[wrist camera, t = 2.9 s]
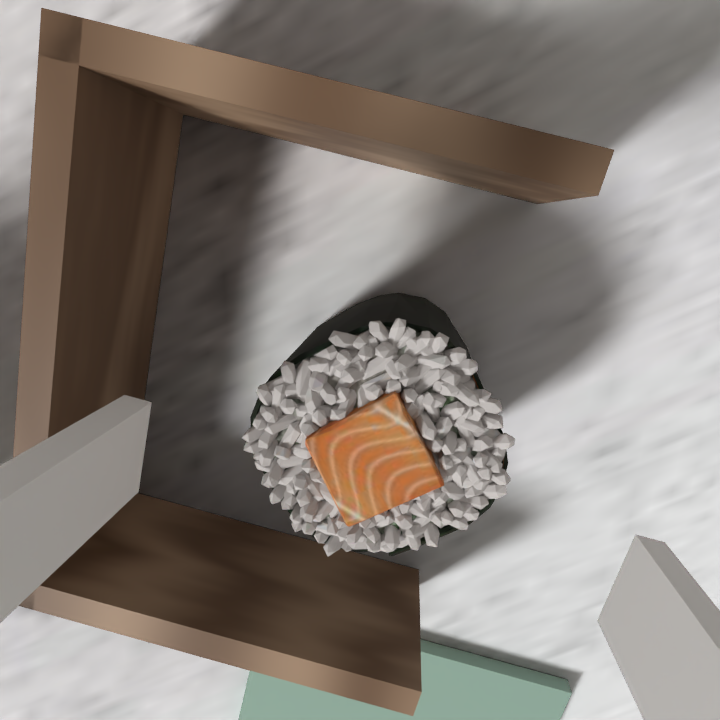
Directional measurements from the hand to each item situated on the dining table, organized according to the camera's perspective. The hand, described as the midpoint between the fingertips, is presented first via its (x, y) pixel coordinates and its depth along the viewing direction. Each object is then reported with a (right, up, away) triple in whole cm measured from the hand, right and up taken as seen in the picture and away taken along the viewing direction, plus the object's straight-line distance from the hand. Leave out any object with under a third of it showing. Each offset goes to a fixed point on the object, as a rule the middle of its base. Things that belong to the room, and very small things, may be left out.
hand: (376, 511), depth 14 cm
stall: (-3, +4, +10) cm, 11 cm away
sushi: (+1, +3, +10) cm, 11 cm away
